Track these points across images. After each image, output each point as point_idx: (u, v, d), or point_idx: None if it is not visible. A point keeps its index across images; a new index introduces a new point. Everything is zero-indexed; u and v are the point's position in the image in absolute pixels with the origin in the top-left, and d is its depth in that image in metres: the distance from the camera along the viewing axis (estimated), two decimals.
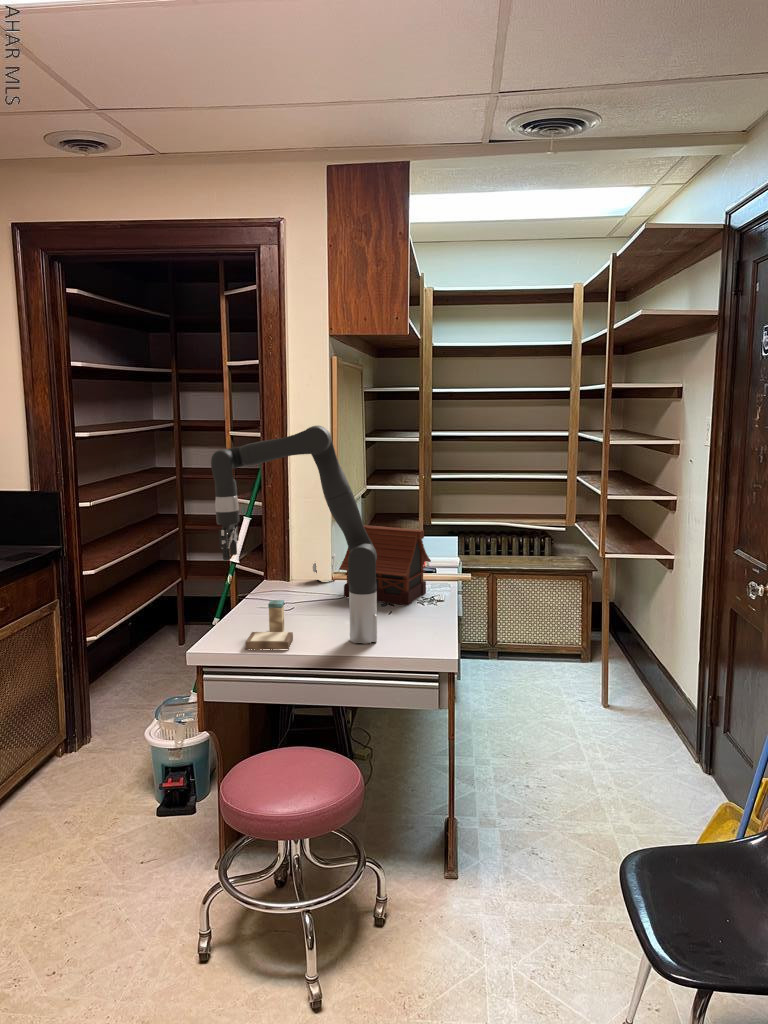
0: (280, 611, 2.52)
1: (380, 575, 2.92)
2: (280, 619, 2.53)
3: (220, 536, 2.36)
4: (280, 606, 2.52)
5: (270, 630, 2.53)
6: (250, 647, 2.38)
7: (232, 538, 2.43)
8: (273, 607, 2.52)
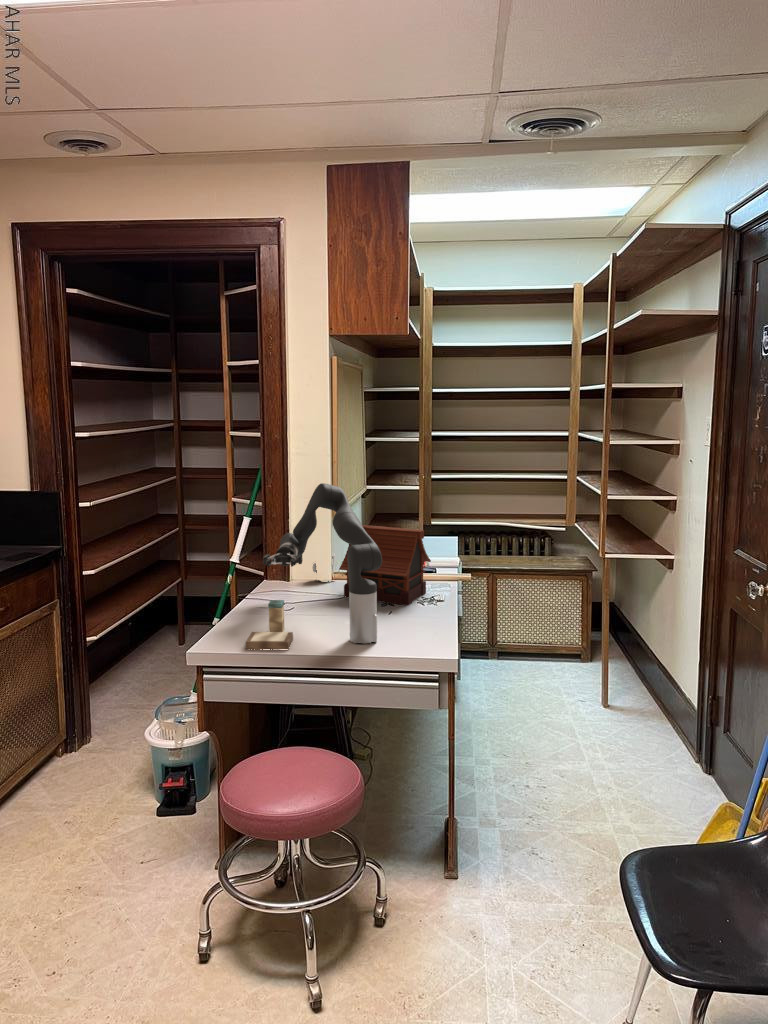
0: (280, 611, 2.52)
1: (380, 575, 2.92)
2: (280, 619, 2.53)
3: None
4: (280, 606, 2.52)
5: (270, 630, 2.53)
6: (250, 647, 2.38)
7: (284, 557, 2.69)
8: (273, 607, 2.52)
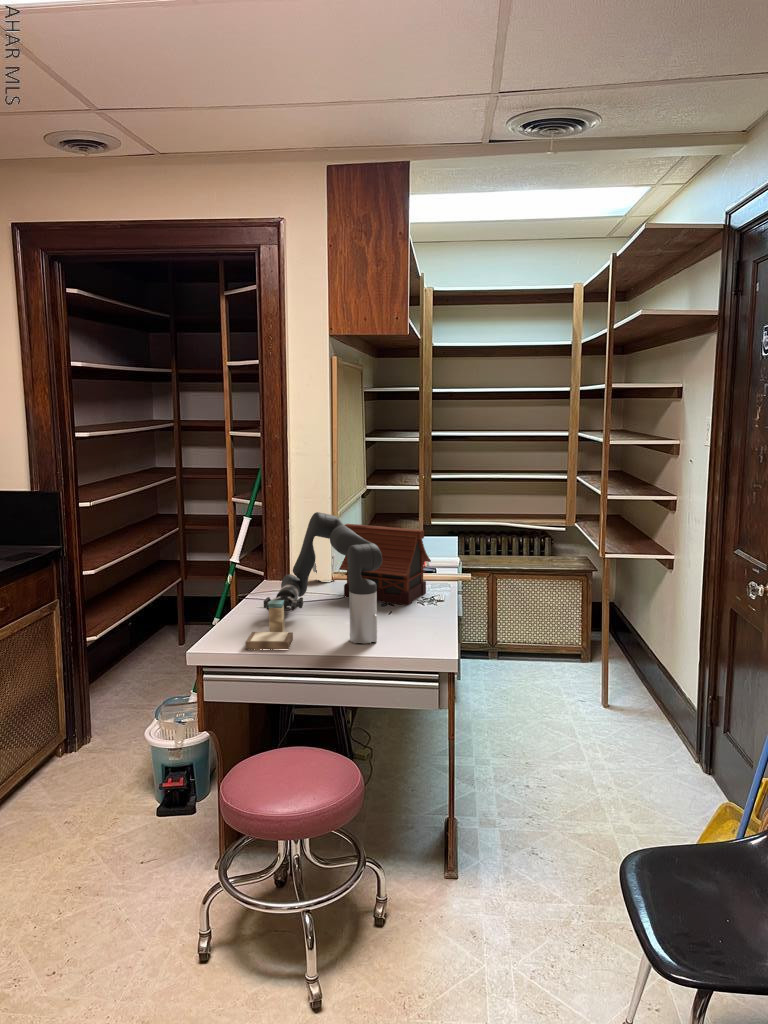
0: (280, 611, 2.52)
1: (380, 575, 2.92)
2: (280, 619, 2.53)
3: None
4: (280, 606, 2.52)
5: (270, 630, 2.53)
6: (250, 647, 2.38)
7: (284, 600, 2.68)
8: (273, 607, 2.52)
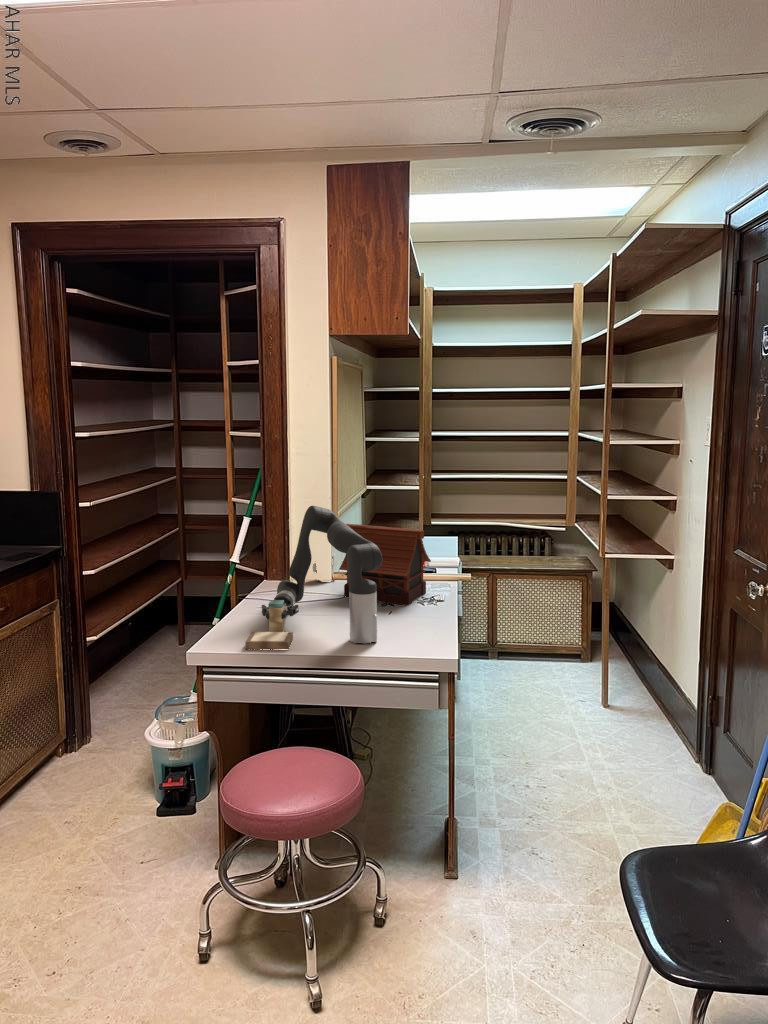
0: (280, 611, 2.52)
1: (380, 575, 2.92)
2: (280, 619, 2.53)
3: None
4: (280, 606, 2.52)
5: (270, 630, 2.53)
6: (250, 647, 2.38)
7: None
8: (273, 607, 2.52)
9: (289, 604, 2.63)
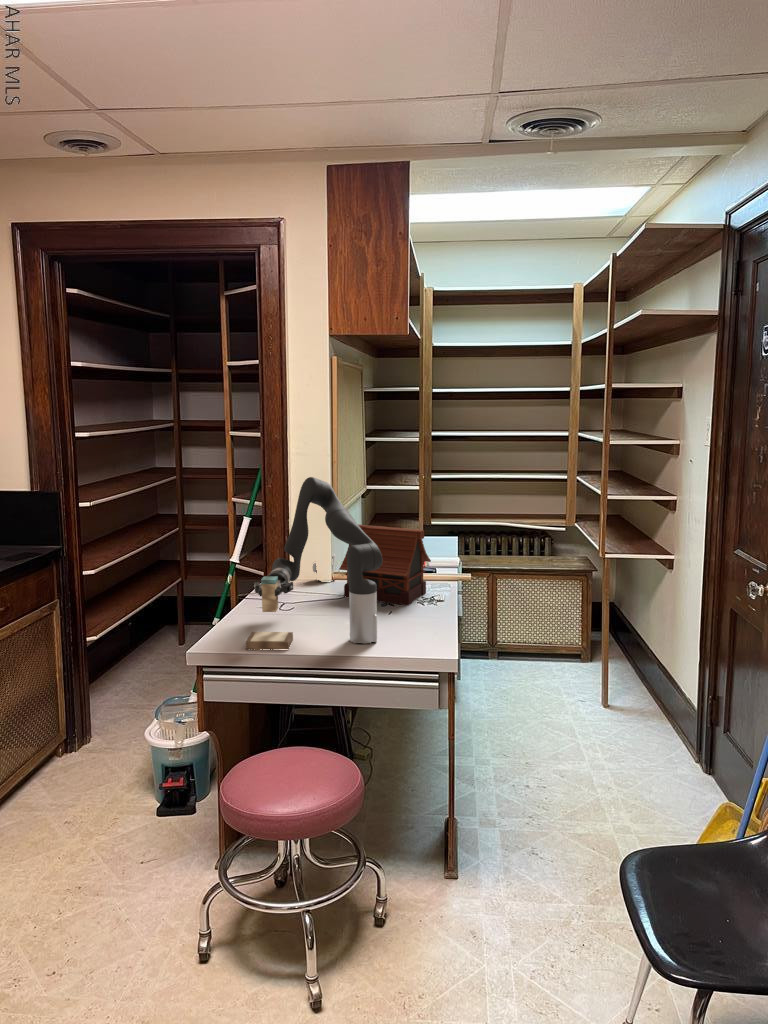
0: (273, 588, 2.40)
1: (380, 575, 2.92)
2: (273, 596, 2.40)
3: None
4: (273, 582, 2.39)
5: (263, 608, 2.41)
6: (250, 647, 2.38)
7: None
8: (266, 583, 2.39)
9: (283, 581, 2.50)
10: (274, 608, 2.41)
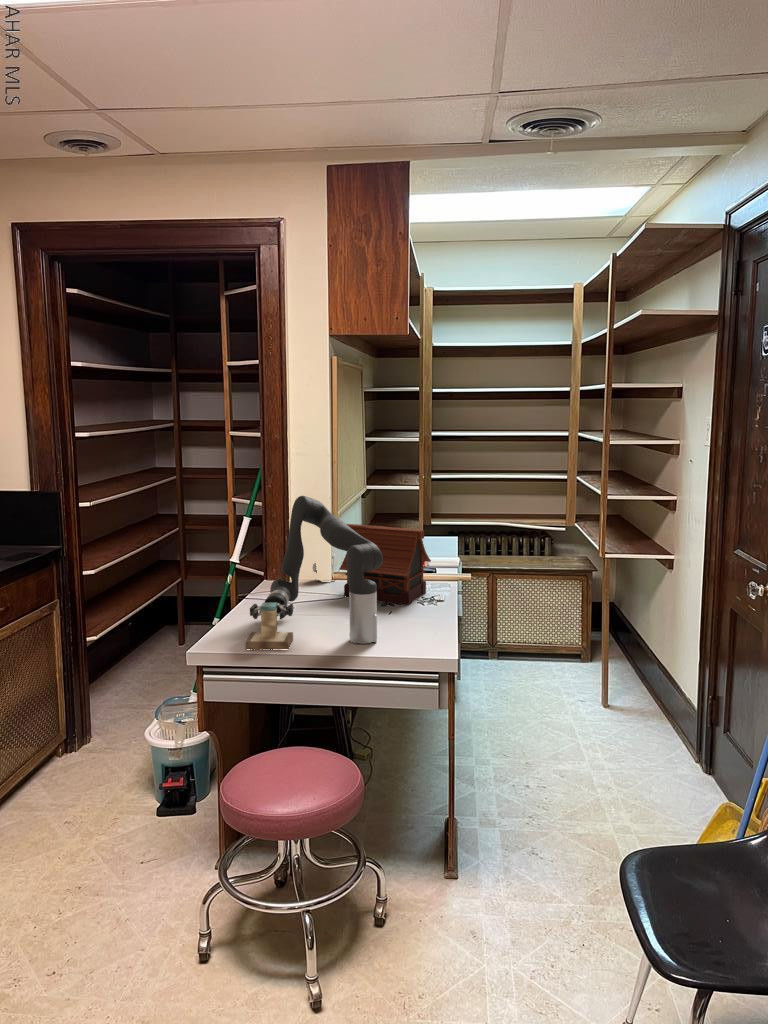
0: (273, 614, 2.38)
1: (380, 575, 2.92)
2: (273, 623, 2.39)
3: None
4: (273, 609, 2.38)
5: (262, 634, 2.40)
6: (250, 647, 2.38)
7: None
8: (265, 610, 2.38)
9: (282, 604, 2.49)
10: (273, 635, 2.40)
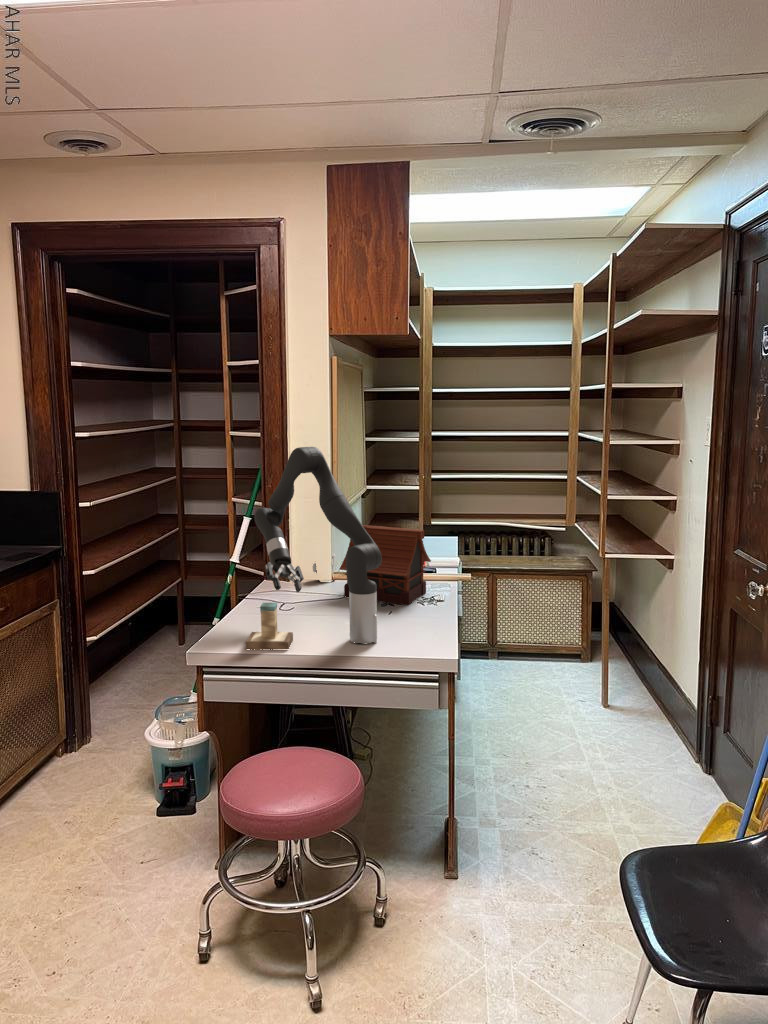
0: (273, 614, 2.38)
1: (380, 575, 2.92)
2: (273, 623, 2.39)
3: (266, 570, 2.57)
4: (273, 609, 2.38)
5: (262, 634, 2.40)
6: (250, 647, 2.38)
7: (287, 573, 2.60)
8: (265, 610, 2.38)
9: (291, 565, 2.64)
10: (273, 635, 2.40)
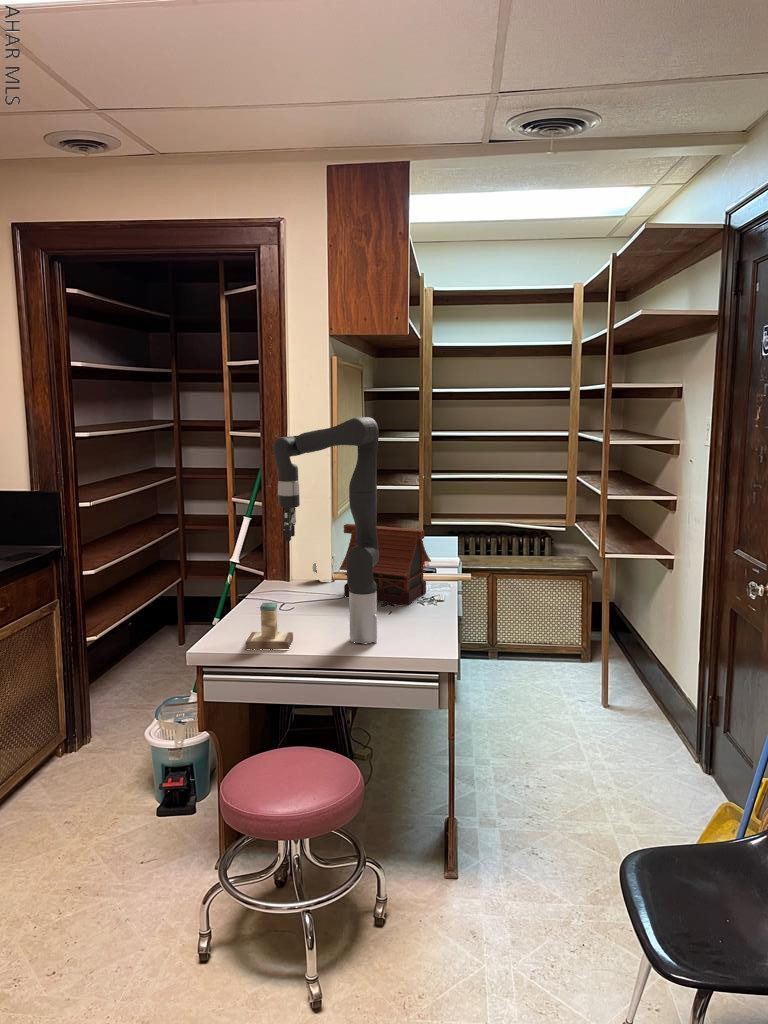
0: (273, 614, 2.38)
1: (380, 575, 2.92)
2: (273, 623, 2.39)
3: (283, 518, 2.50)
4: (273, 609, 2.38)
5: (262, 634, 2.40)
6: (250, 647, 2.38)
7: None
8: (265, 610, 2.38)
9: (293, 508, 2.60)
10: (273, 635, 2.40)
